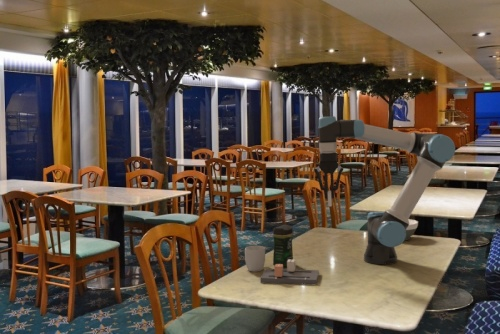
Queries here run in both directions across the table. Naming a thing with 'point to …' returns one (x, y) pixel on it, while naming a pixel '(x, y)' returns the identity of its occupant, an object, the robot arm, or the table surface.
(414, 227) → the bowl
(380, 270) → the table surface
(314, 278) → the board
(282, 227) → the coffee jar
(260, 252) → the mug
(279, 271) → the fader near
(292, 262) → the block
